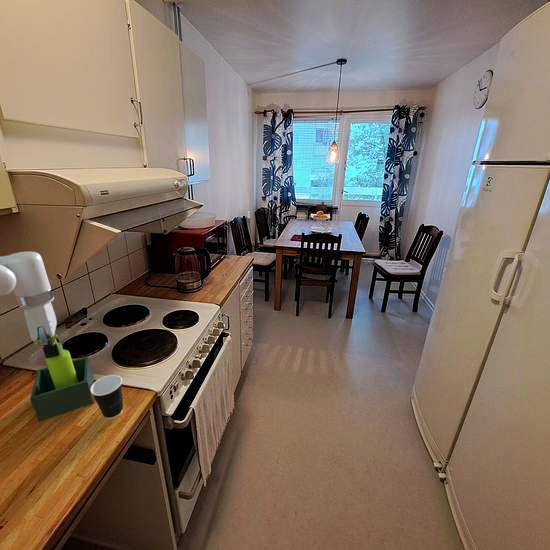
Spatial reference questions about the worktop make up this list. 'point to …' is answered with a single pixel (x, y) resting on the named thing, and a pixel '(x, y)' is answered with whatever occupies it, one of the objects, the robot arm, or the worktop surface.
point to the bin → (62, 391)
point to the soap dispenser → (61, 367)
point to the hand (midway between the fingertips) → (53, 352)
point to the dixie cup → (108, 395)
